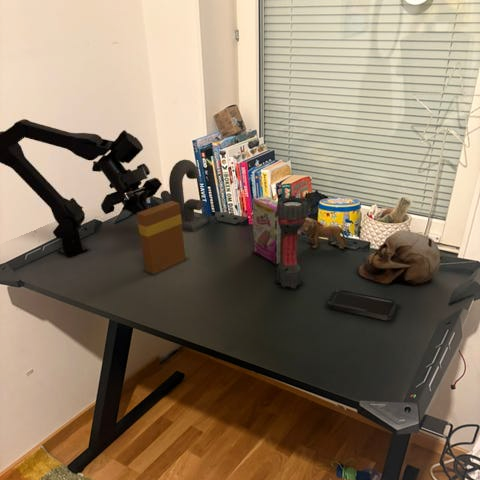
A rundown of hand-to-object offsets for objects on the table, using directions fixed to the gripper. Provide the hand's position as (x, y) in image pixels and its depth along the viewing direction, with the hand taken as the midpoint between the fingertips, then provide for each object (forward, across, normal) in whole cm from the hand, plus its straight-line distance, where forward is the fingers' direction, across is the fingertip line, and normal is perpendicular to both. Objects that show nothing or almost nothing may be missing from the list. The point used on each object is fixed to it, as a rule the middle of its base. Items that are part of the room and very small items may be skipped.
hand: (150, 219), depth 135 cm
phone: (+52, +10, -34) cm, 63 cm away
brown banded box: (+12, 0, +6) cm, 13 cm away
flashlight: (+38, +10, -19) cm, 43 cm away
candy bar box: (+28, +21, -9) cm, 36 cm away
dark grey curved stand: (-2, +30, +20) cm, 36 cm away
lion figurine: (+34, +35, -16) cm, 52 cm away
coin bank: (+52, +29, -34) cm, 69 cm away
